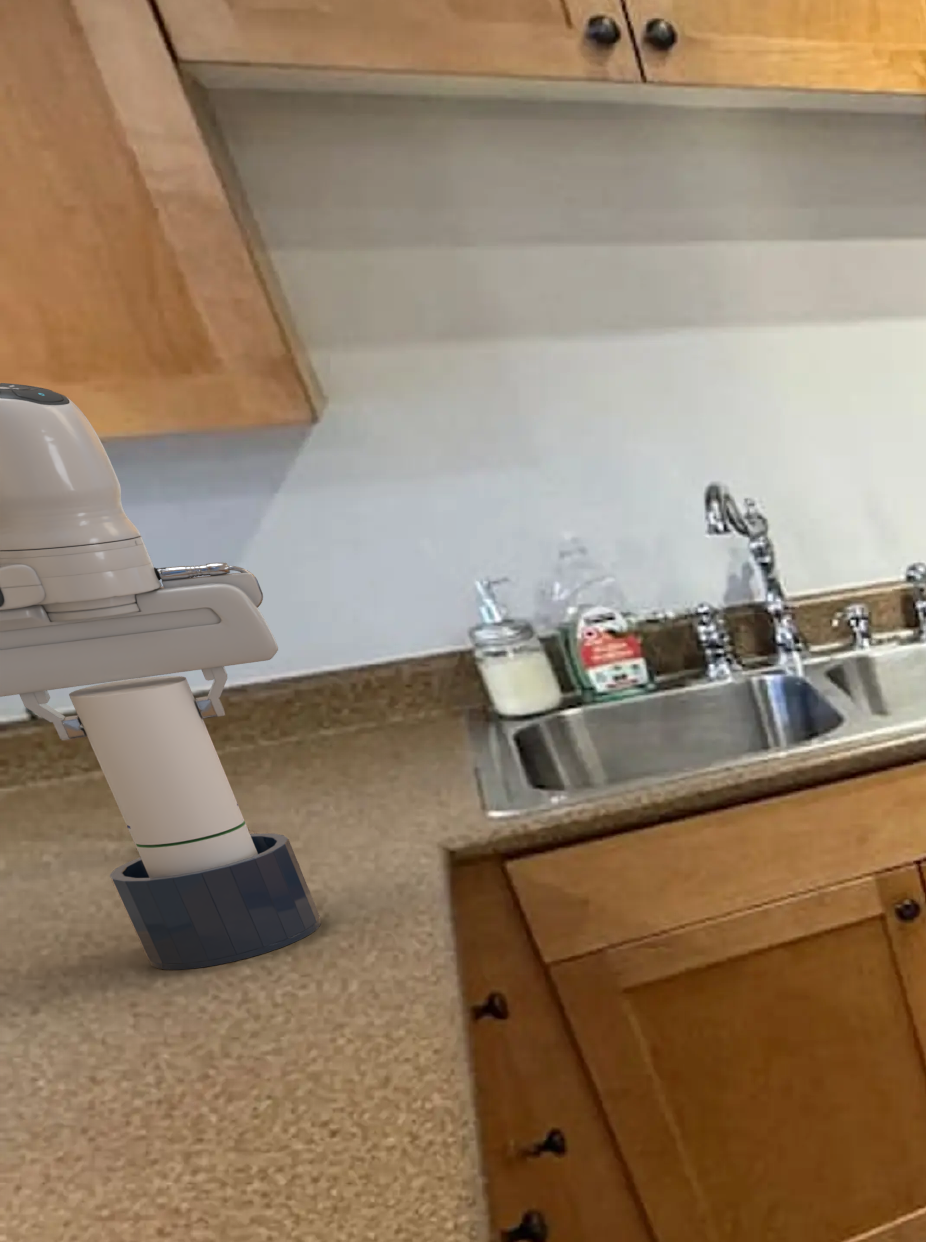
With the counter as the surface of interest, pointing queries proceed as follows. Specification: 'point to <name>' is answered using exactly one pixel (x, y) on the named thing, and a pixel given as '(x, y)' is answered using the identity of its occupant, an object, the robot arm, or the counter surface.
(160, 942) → the crock
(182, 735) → the cylindrical container
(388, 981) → the counter surface
